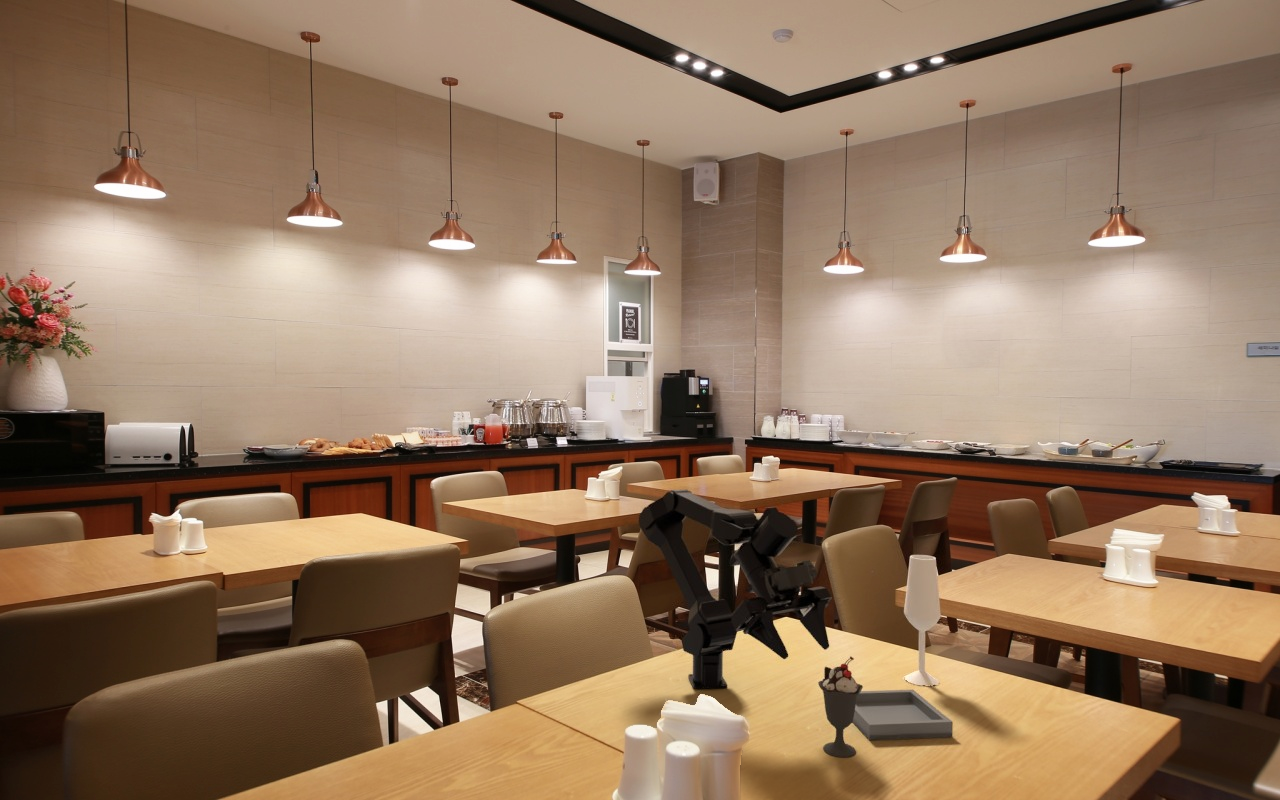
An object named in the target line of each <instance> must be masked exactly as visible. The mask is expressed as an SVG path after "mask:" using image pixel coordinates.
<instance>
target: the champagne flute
mask: <svg viewBox="0 0 1280 800" xmlns="http://www.w3.org/2000/svg"><path fill="white" fill-rule="evenodd" d="M936 559H937V558H936V557H935V556H932V555H926V554H911V555H910V556H909V563H908V573H907V581H906V591H905V600H904V608H903V614H904V616H905V617H906V619H907V621H908V622H909V623H910V624H911V626H913V628H914V629H916V630H917V631H918V670H915V671H913V672H911V673H909V674H907V675H905V676H904V677H905V680H907V681H908V682H911V683H914V684H917V685H928V686H929V685H934V684H935V685H936V684H937V683H939V682H940V680H939V679H937V677H934V676H933V675H931V674H930V673H929V672H927V671H926V631H929V630H930V629H931V628H932V627H934V626H935V625H936V624H938V622H939V620H940V618H941V616H942V614H941V603H940V593H939V592H940V590H939V580H938V569H937V567H938V566H937V560H936ZM905 680H904V681H905ZM938 680H939V681H938ZM908 682H907V683H908ZM917 685H916V686H917Z"/></svg>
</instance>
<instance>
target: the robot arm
mask: <svg viewBox="0 0 1280 800" xmlns="http://www.w3.org/2000/svg"><path fill="white" fill-rule="evenodd" d="M687 518H688V519H690V520H692V521H694V522H696V523H698V524H700V525H702V526H704V527H706V528H707V529H709V530H710V534H711V536H712V537H713V538H714V539H715V540H717V541H718V542H719V543H720V544H722V545H723V546H733V545H740V546H739V547H738V549H736V550H735V549H734V550H732V551H731V556H730V559H729V566H730V567H735V566H740V568H741V570H742V572H743V573H744V576H745V578H746V579H747V581H748V583H749V585H748V586H747V587H746V589H747V592H748V593H749V594H752V593H754V594H755V596H756V597H750V598H746V599H743V600H742V601H741V602H740V603H739V605H738V606H737V607H736V608H735V609H734V611H733V612H732V610H731V608H730V605H729V603H728V601H727V600H726V599H725V598H723V599H716V598H714V597H713V596H712V594H711V592H710V589H709V588H708V586H707V584H706V582H705V580H704V578H703V576H702V574H701V573H700V570H699V568H698V566H697V564H696V563H695V561H694V559H693V556H692V554H691V553H690V550H689V549H688V547H687V544H686V543H685V541H684V539H683V531H684V520H686V519H687ZM638 524H639V525H638V526H639V528H640V529H641V531H642V532H643V534H644V535H645V537H646V538H647V540H648V541H649V542H650V543H652V544H653V545H655V546H656V547H658V548H659V549H660V551H661V552H662V555H663V556H664V559H665V561H666V563H667V565H668V567H669V569H670V571H671V574H672V575H673V577H674V578H673V579H674V580H675V582H676V584H677V586H678V588H679V590H680V592H681V594H682V596H683V598H684V600H685V603H686V604H687V607H688V608H689V610H688V611H689V612H688V621H687V622H688V623H687V625H688V628H689V630H688V631H687V632H686V634H685V635H684V636H683V637H682V639H681V645H682V651H684V652H685V653H687V654H689V655H691V656H692V673H690V674H688V676H687V677H688V679H689V682H690V684H691V686H692V688H693V689H695V690H696V689H722V688H725V689H726V688H728V683H727V682H726V680H725V678H724V676H723V675H724V673H723V669H724V668H723V667H724V666H723V665H724V664H723V660H724V658H723V657H724V652H726V651H732V650H733V648H734V645H735V641H736V637H737V634H738V632H739V631H742V633H743V634H744V635H749V636H751V637H752V638H754V639H755V640H757V641H759V642H760V643H761V644H763V645H764V646H765V647H767V648H768V649H770V650H771V651H772V652H773V653H775V654H776V655H777V656H778V657H780V658H781V659H783V660H786V659H788V657H789V654H788V651H787V648H786V645H785V644H784V642H783V640H782V637H781V635H780V634H779V631H778V630H777V627H776V626H775V624H774V615H777V614H784V613H788V612H795V614H796V616H799V617H800V618H801V619H800V620H799V623H801V625H802V626H803V627H804V628H805V630H806V631H807V632H808V633H809V634H810V635H811V636H812V638H813V639H814V640H815V641H816V642H817V644H819V646H820V648H822V649H823V650H825V651H826V650H827V649H829V648H830V643H829V637H828V633H827V628H826V623H825V610H826V608H827V607H828V606H829V603H830V601H831V600H832V599H833V597H832V595H831V593H830V592H829V590H828V588H827V587H824V586H814V587H810V588H806V590H804V592H802V594H801V595H800V596H799V597H795V596H796V595H798V594H799V593H800V592H801V588H800V587H803V586H806V585H812V584H814V581H813V579H816V578H817V576H818V575H817V570H816V567H815V566H814V564H813V563H812V561H810V559H809V560H807V559H806V560H802V561H801V562H797V563H796V565H795V566H790V567H784V566H778V564H777V563H776V562H775V560H774V558H776V557H778V556H780V555H781V554H782V553H783V551H784V550H786V548H787V547H788V545H789V544H790V543H791V542H792V541H793V540H794V539H795V537H797V534H798V533H799V529H798V525H797V523H796V521H795V520H794V519H792V518H791V517H789V516H788V515H787V514H785V513H784V512H781V511H779V509H778V508H777V507H776V506H772V507H770V506H769V507H766V508H765V510H764V511H763V513H762V514H761V516H760V518H758V517H757V516H756V514H754V513H753V511H749V510H744V509H743V510H742V509H738V508H737V509H736V508H725V507H723V506H720V505H718V504H716V503H714V502H712V501H709V500H707V499H705V498H703V497H701V496H699V495H697V494H695V493H693V492H692V491H691V490H688V489H673V490H669V491H667V492H666V493H665V494H664V495H663V496H661V497H660V498H658V499H656V500H655V501H653V502H651V503H650V504H648V505H647V506H646V507H645V506H644V508H642V511H641V513H640V514H639V516H638Z"/></svg>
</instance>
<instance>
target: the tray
mask: <svg viewBox="0 0 1280 800" xmlns="http://www.w3.org/2000/svg"><path fill="white" fill-rule="evenodd" d="M852 723H853V724H854V726H856V728H857V729H858V730H859V731H860V732H861V733H862V734H863V735H864V736H865V738H866V739H867V740H868V739H869V741H888V740H891V739H892V740H914V739H915V740H916V739H937V738H939V739H940V738H941V739H943V738H953V728H954V727H953V726H954V724H953V723H954V722H953V721H952V720H951V719H950V718H949V717H947V716H946V715H945V714H943V713H942V712H941V711H940V710H939V709H937V707H935V706H934V705H933V704H932V703H930V702H929V701H928V700H927V699H926V698H924V697H923V696H922V695H921V694H919V693H918V692H916V691H915V689H893V690H892V689H890V690H884V689H883V690H861V692H860V693H859V694H858V695H857V699H856V706H855V713H854V718H853V722H852Z"/></svg>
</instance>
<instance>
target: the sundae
mask: <svg viewBox="0 0 1280 800" xmlns="http://www.w3.org/2000/svg"><path fill="white" fill-rule="evenodd" d="M854 659H855V658H854V657H852V656H849V658H848V659H847V660H846V661H845V662H844V663H842V664H840V666H836V667H833V668H831V667H828V666H825V667H824V673H823V675H824V678H823V679H822V680H819V681H818V683H817V684H818V687H819V688H820V689H821V690H822V694H823V701H824V710H825V715H826V719H827V721H828V722H829V723H830V725H832V726H833V728H835V740H834V742H833V741H832V742H827V743H825V744H824V745H823V746H822V749H823V751H824V752H825V754H828V755H830V756H833V757H837V758H851V757H853V756H855V755H856V753H857V750H856V749H855V747H853V746H852V745H850V744H848V743H846V742H845V739H844V730H845V729H847V728H848V727H849V726H850V725H851V724H852V723H853V718H854V713H855V706H856V699H857V695H858V694H859V693H860V692H861V691H863V690H862V689H863V688H864V687H863V685H862V684H859V683H857V682H856V680H855V678H854V677H853V675H852V671H851V670H849V663H850V662H852V661H854Z"/></svg>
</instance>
